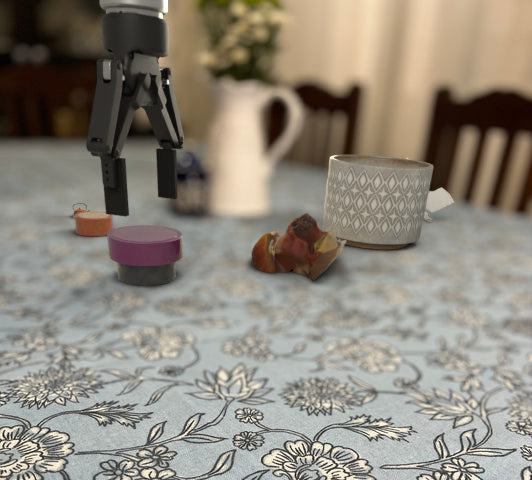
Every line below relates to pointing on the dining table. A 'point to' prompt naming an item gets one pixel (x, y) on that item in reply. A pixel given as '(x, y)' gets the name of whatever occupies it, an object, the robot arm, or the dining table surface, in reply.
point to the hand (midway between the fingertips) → (144, 205)
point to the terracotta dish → (93, 223)
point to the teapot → (79, 210)
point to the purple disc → (145, 245)
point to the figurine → (437, 200)
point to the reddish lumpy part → (297, 249)
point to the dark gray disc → (146, 274)
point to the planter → (376, 200)
